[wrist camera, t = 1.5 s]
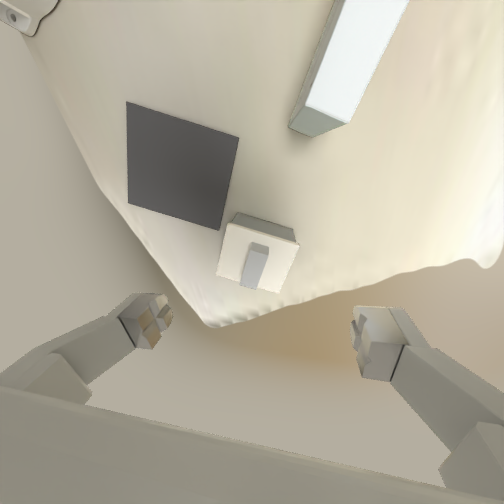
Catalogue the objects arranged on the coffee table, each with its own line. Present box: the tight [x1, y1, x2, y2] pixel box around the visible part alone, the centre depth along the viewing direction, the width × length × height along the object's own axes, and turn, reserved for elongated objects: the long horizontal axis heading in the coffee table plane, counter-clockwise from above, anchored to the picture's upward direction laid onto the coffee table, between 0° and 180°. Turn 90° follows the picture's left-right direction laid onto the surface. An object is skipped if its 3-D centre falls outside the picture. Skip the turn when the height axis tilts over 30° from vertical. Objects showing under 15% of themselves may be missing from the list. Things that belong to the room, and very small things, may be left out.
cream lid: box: [216, 222, 300, 294], centre depth 34 cm, size 13×11×6 cm
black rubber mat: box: [126, 102, 239, 231], centre depth 38 cm, size 20×18×1 cm
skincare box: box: [288, 0, 410, 137], centre depth 21 cm, size 21×5×16 cm, turn 160°
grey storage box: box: [231, 212, 296, 243], centre depth 39 cm, size 12×10×8 cm
